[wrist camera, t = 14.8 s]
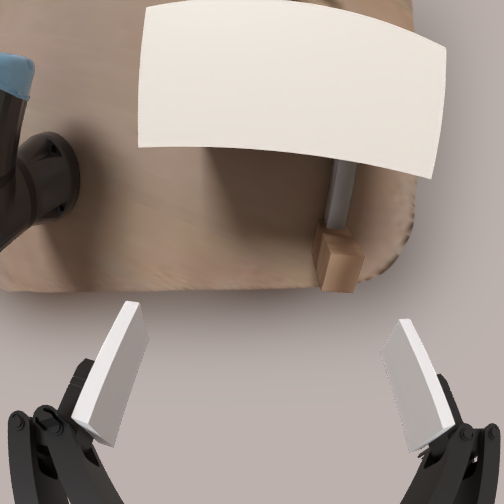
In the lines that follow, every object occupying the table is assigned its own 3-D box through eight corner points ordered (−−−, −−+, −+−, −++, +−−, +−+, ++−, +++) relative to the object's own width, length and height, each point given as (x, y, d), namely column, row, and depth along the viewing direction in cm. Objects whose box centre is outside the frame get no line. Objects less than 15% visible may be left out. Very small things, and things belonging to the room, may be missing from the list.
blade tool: (311, 252, 38) (321, 291, 31) (329, 147, 31) (349, 161, 23) (338, 254, 38) (353, 292, 31) (358, 152, 31) (386, 168, 23)
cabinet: (198, 127, 30) (138, 147, 16) (202, 49, 25) (146, 7, 11) (361, 143, 30) (431, 179, 16) (369, 68, 25) (446, 48, 10)
